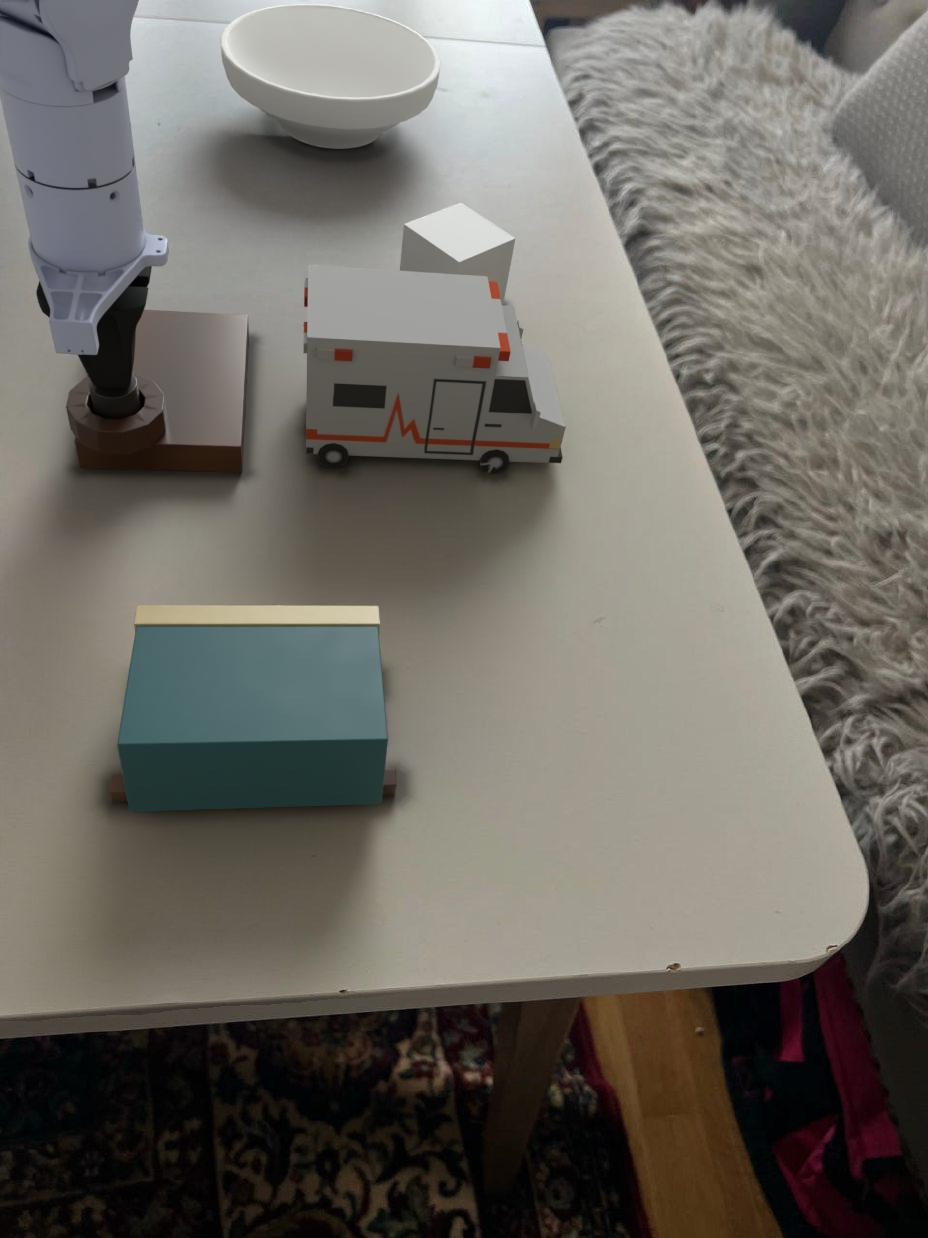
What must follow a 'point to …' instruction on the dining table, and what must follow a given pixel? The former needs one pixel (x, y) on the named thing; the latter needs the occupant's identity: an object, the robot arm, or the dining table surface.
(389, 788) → the strip
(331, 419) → the toy vehicle
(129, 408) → the button
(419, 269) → the white cube
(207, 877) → the dining table surface
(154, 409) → the control box
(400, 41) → the bowl
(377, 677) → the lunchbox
